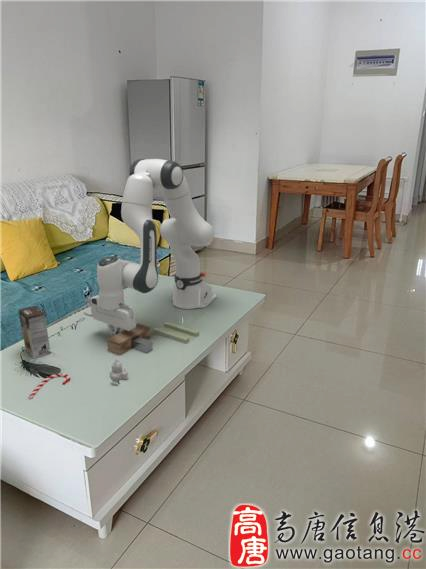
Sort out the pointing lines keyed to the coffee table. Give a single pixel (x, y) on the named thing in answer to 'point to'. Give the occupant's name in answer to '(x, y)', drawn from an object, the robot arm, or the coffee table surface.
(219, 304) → the coffee table surface
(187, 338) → the cradle
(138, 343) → the shaft
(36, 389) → the candy cane
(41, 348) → the coffee box
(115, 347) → the beam
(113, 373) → the grey lumpy blob
